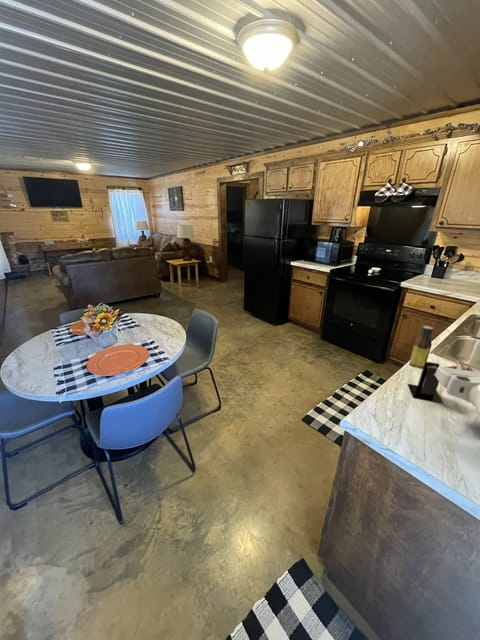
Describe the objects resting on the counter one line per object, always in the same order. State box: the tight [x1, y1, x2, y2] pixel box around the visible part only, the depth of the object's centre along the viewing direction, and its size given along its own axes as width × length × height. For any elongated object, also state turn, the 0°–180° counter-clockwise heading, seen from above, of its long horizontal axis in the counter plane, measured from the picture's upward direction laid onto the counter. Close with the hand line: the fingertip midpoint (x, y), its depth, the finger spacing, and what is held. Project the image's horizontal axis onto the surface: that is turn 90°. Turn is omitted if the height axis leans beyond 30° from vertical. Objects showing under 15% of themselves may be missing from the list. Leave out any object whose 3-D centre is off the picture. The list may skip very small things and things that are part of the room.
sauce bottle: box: [409, 325, 434, 369], centre depth 118 cm, size 6×6×20 cm
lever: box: [427, 360, 468, 371], centre depth 97 cm, size 11×7×2 cm, turn 72°
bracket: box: [407, 361, 444, 405], centre depth 100 cm, size 10×9×14 cm
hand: (463, 367), depth 94 cm, fingers closed on lever
